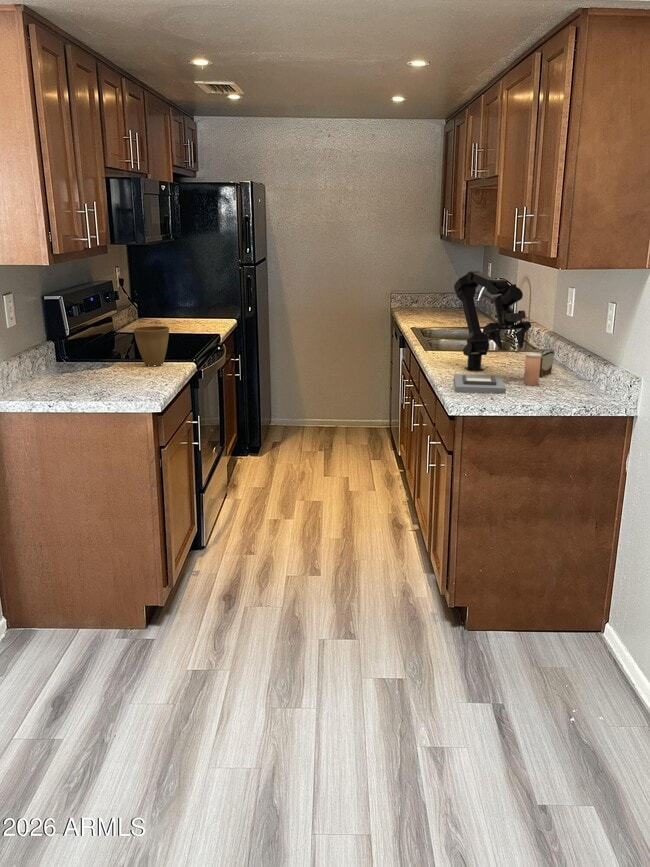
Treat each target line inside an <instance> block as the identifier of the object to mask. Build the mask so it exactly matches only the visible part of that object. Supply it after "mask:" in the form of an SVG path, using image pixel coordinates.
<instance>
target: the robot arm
mask: <svg viewBox="0 0 650 867" xmlns="http://www.w3.org/2000/svg"><path fill="white" fill-rule="evenodd" d="M479 286H480V287H483V288H485V289H486V292H487V293H488V294H490V295H492V296H493V297H492V300H491V301H490V304H494V310H495V312H496V313H495V315H494V319H497V322H489V323H487V324H486V325H484V326H483V328H482V329H481V325H480V321H479V317H478V311H477V308H476V307H477V306H476V303H475V300H474V299H475V295H476V293H477V290H476V289H477V288H478V287H479ZM453 289H454V291H455V296H456V297H457V298H458V299H459V300H460V301H461V304H462V308H463V311H464V312H463V313H464V317H465V321H466V324H467V329H468V330H467V331H468V336H467V339H466V345H465V346H464V348H463V350H462V352H463V353H462V354H463V356H466V357H467V365H466V366H464V369H466V370H467V371H469V370H477V371H484V368H482V356H487V355H488V350H489V346H490V344H489V339H491V340H492V341H493V342H494V343H495V345H496V346H497V348H499V350H502V349H503V344H502V343H503V342H502V338H501V332H502V331H508V330H510V331H511V330H512V331H513V330H514V331H515V333H514V334H515V338H516V340H517V343H518V346H519V348H520V349H522V348H523V347H524V341H525V335H526V333H527V332H528V331H529V330H530V329H531V328H532V323H531V322H530V320H524V319H526V318H527V314H526V311H525V310H518V311H517V312H515V311H514V310H513V309H511V306H513V305H515V304H517V302H519V301H521V300H523V296H524V295H523V294H524V293H523V291H522V289H521V288H519V287H518V286H517V284H516V283H512V284H510V283H509V281H508V280H507V279H505V278H504V279H502V278H493V277H491V276H489V275H487V274H485V273H483V272H481V271H478V270H477V271H475V270H473V271H471V270H470V271H468V272H467V273H466V274H465V275H463V276H462V277H460V278H459V279H457V281H456V282H455V283H454V286H453ZM495 295H497V296H495ZM488 337H489V338H488Z"/></svg>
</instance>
